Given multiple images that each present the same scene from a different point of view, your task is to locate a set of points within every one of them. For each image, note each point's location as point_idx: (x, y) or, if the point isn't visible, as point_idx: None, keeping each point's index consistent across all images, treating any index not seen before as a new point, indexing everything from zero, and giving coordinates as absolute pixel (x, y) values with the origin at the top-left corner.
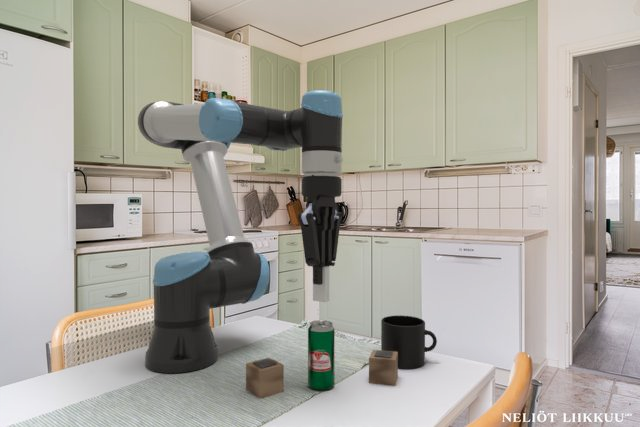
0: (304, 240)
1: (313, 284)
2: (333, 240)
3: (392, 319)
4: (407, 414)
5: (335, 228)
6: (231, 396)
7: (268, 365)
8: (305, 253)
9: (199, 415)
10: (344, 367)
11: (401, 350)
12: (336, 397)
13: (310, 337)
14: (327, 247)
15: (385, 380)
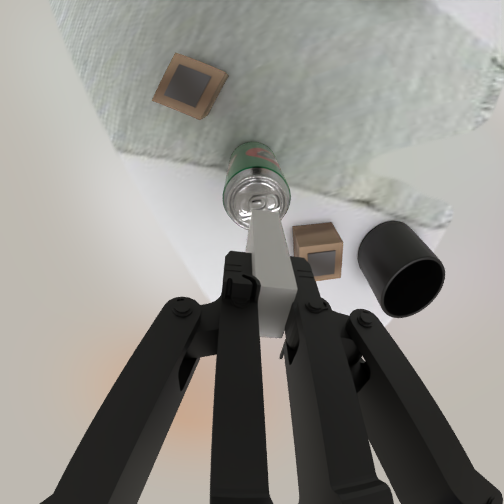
0: (103, 415)
1: (252, 239)
2: (370, 430)
3: (438, 264)
4: (217, 287)
5: (395, 483)
6: (154, 56)
7: (178, 99)
8: (142, 345)
9: (91, 65)
10: (344, 173)
11: (367, 271)
12: (222, 199)
13: (227, 178)
14: (292, 410)
15: (294, 252)
